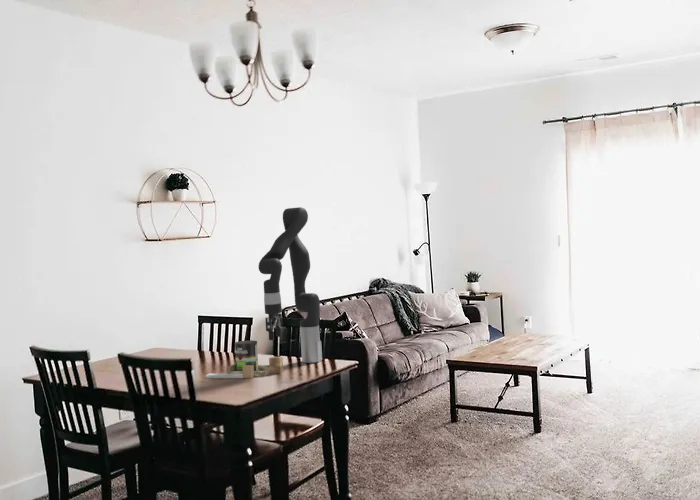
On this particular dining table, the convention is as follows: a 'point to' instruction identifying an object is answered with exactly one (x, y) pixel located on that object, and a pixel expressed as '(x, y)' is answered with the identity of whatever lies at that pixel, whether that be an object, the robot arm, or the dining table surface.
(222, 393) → the dining table surface
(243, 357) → the coffee can
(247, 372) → the empty strip
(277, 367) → the frame
